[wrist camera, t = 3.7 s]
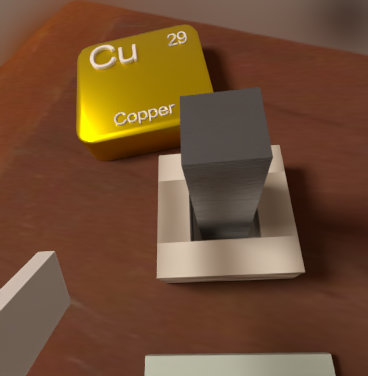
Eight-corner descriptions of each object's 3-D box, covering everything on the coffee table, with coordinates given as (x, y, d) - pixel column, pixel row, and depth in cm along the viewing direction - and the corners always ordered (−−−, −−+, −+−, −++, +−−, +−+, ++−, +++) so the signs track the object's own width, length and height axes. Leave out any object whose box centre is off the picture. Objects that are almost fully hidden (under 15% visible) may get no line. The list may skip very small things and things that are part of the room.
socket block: (272, 166, 28) (279, 144, 24) (292, 278, 23) (305, 272, 20) (166, 175, 29) (158, 155, 26) (166, 283, 25) (156, 278, 21)
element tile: (92, 166, 31) (72, 143, 27) (91, 74, 38) (74, 43, 34) (220, 140, 31) (220, 112, 26) (197, 50, 37) (194, 15, 33)
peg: (242, 196, 26) (259, 87, 13) (247, 237, 24) (273, 157, 12) (200, 199, 26) (179, 96, 14) (202, 240, 25) (181, 164, 12)
